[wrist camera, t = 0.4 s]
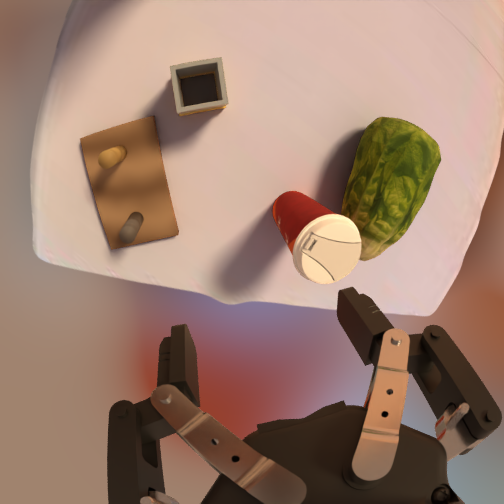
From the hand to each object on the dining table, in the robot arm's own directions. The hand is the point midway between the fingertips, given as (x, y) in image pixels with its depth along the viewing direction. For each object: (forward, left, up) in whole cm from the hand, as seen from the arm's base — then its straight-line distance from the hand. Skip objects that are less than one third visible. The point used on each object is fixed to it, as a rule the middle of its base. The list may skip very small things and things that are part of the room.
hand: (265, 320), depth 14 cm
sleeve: (-14, -1, -26) cm, 29 cm away
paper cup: (+4, +9, -26) cm, 28 cm away
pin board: (-4, -12, -26) cm, 28 cm away
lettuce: (+2, +21, -26) cm, 33 cm away
